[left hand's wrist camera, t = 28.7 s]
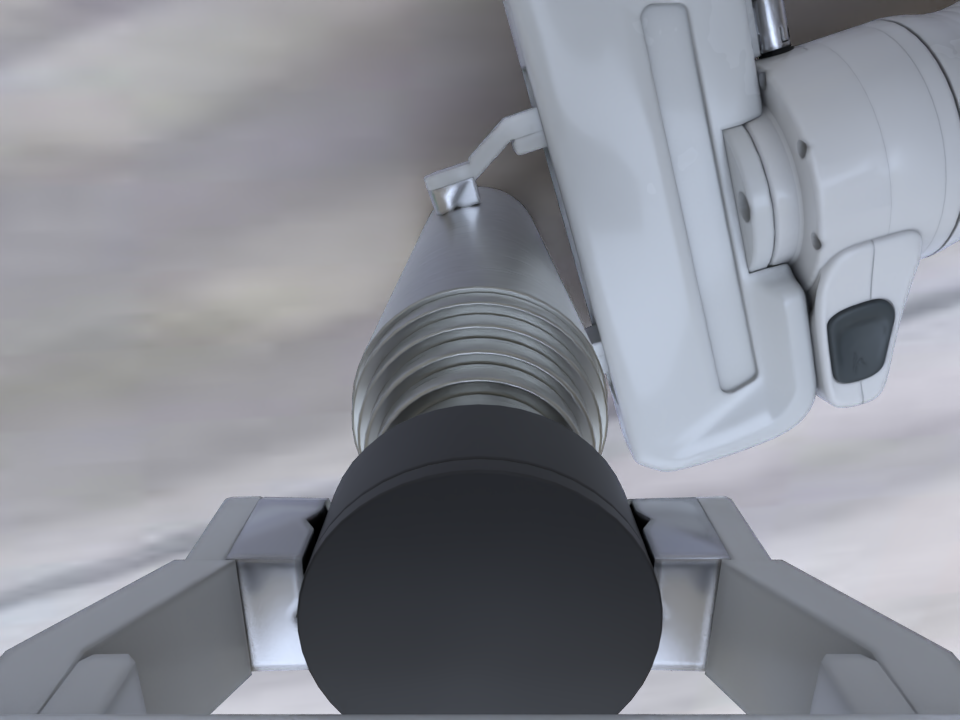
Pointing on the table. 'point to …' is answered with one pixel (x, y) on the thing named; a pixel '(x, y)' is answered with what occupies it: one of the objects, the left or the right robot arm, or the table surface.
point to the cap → (479, 574)
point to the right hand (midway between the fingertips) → (459, 280)
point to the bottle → (480, 329)
